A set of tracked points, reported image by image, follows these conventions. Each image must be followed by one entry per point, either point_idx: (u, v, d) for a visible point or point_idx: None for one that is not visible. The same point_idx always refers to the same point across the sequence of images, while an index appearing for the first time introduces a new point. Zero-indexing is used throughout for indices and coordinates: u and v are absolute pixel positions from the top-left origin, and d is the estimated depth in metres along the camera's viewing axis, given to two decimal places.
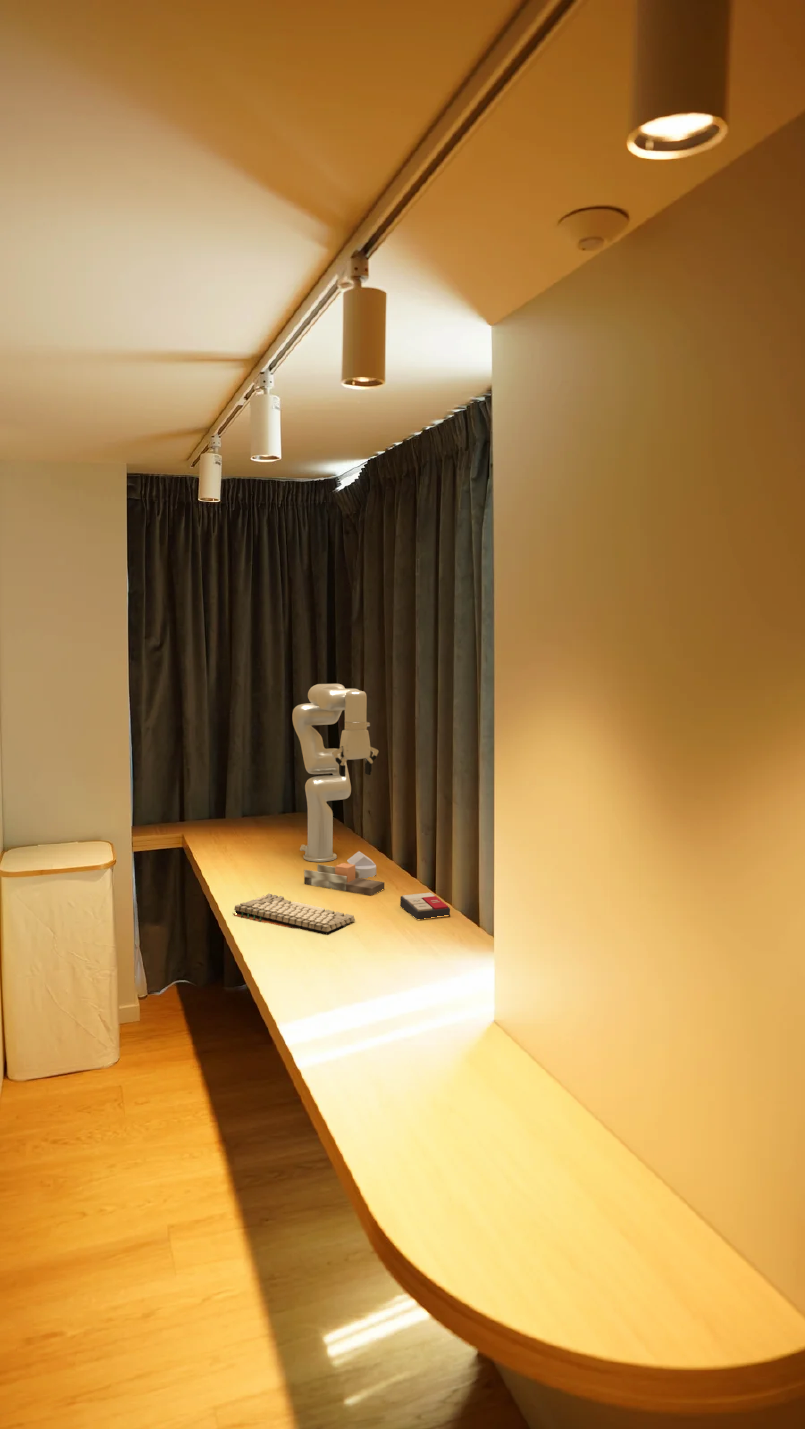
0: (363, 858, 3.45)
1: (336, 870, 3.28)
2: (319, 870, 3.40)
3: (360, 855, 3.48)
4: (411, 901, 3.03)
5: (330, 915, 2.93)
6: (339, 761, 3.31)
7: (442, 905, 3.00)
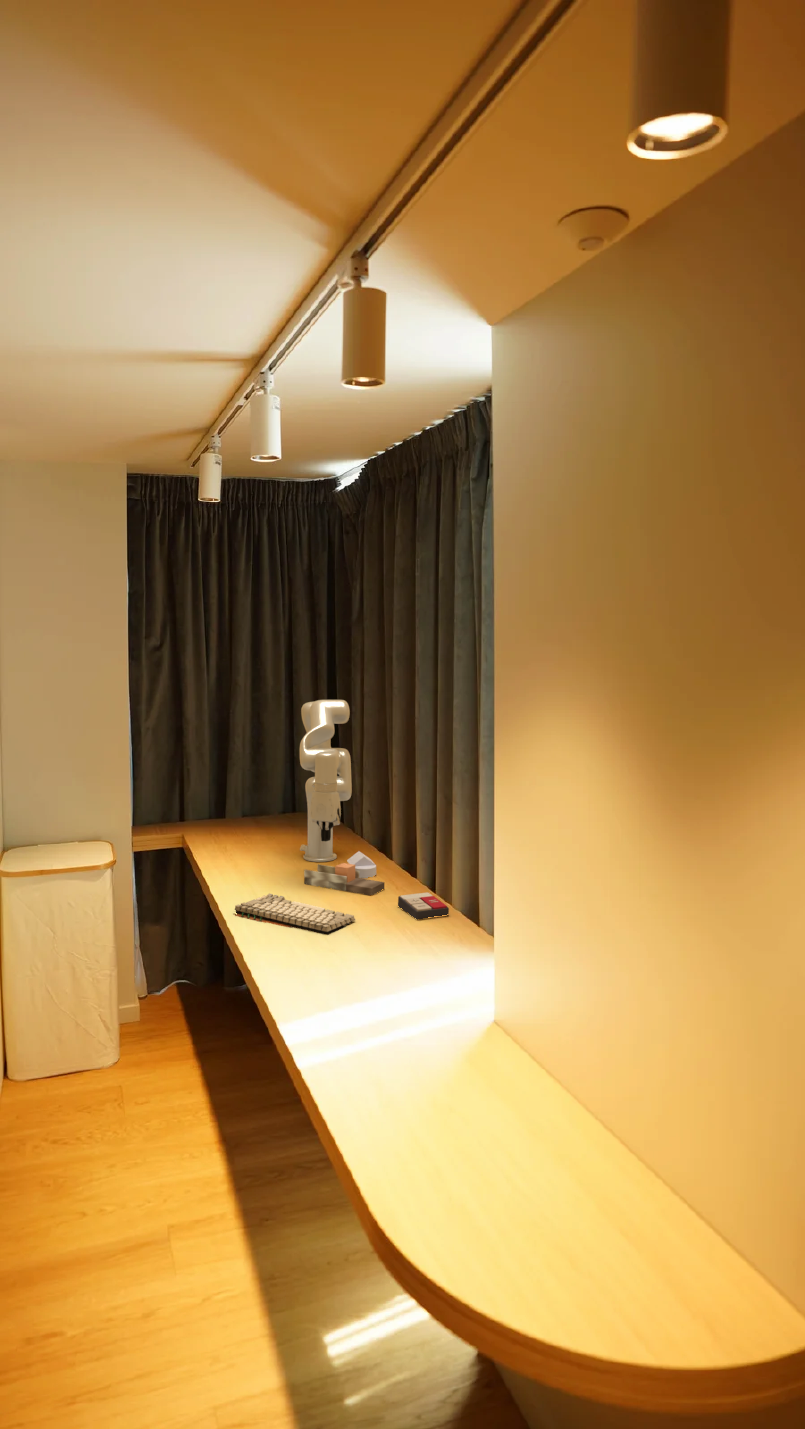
0: (363, 858, 3.45)
1: (336, 870, 3.28)
2: (319, 870, 3.40)
3: (360, 855, 3.48)
4: (409, 901, 3.03)
5: (330, 915, 2.93)
6: None
7: (441, 905, 3.00)
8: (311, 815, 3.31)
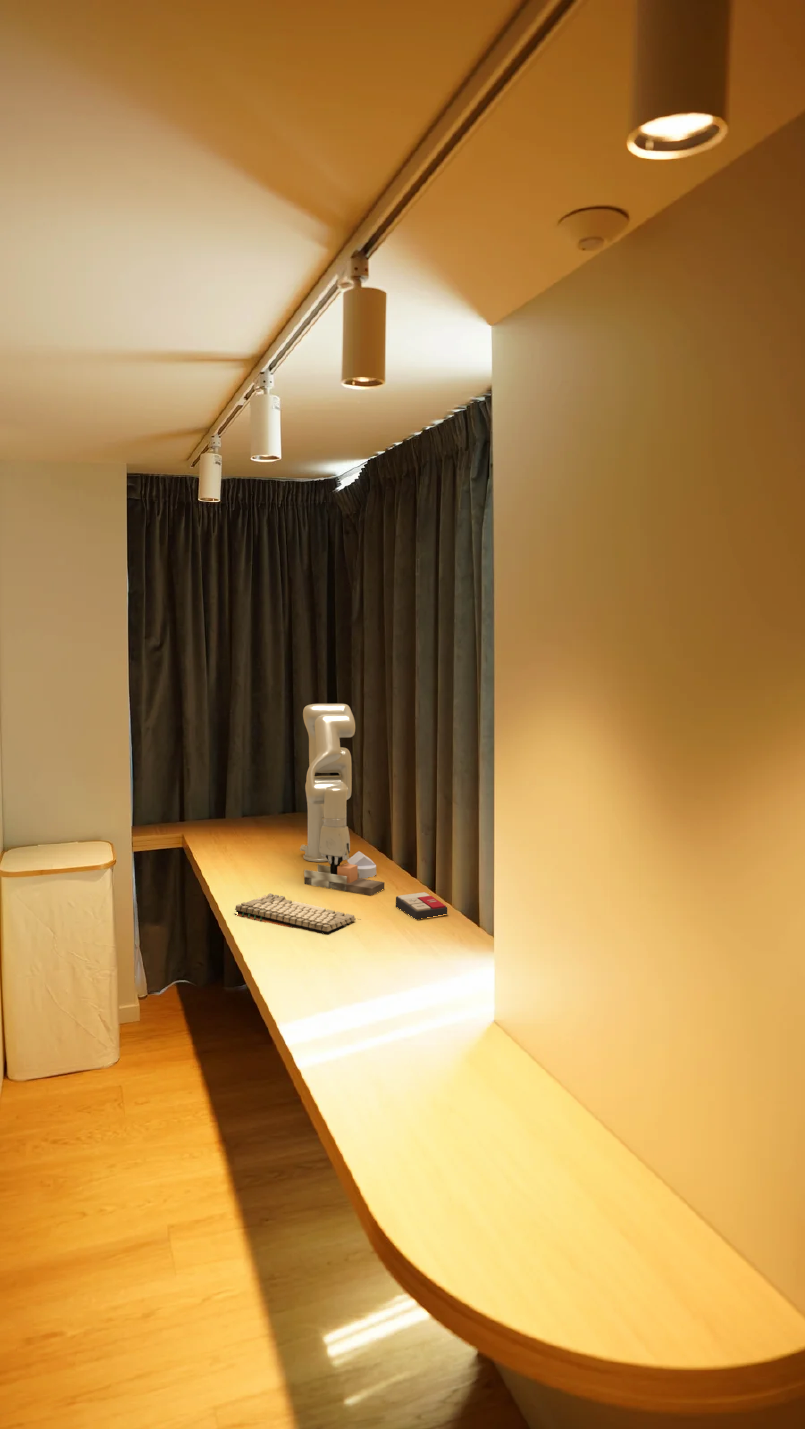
0: (363, 858, 3.45)
1: (338, 870, 3.28)
2: (319, 870, 3.40)
3: (360, 855, 3.48)
4: (408, 901, 3.02)
5: (331, 915, 2.93)
6: None
7: (439, 904, 3.00)
8: (320, 849, 3.31)
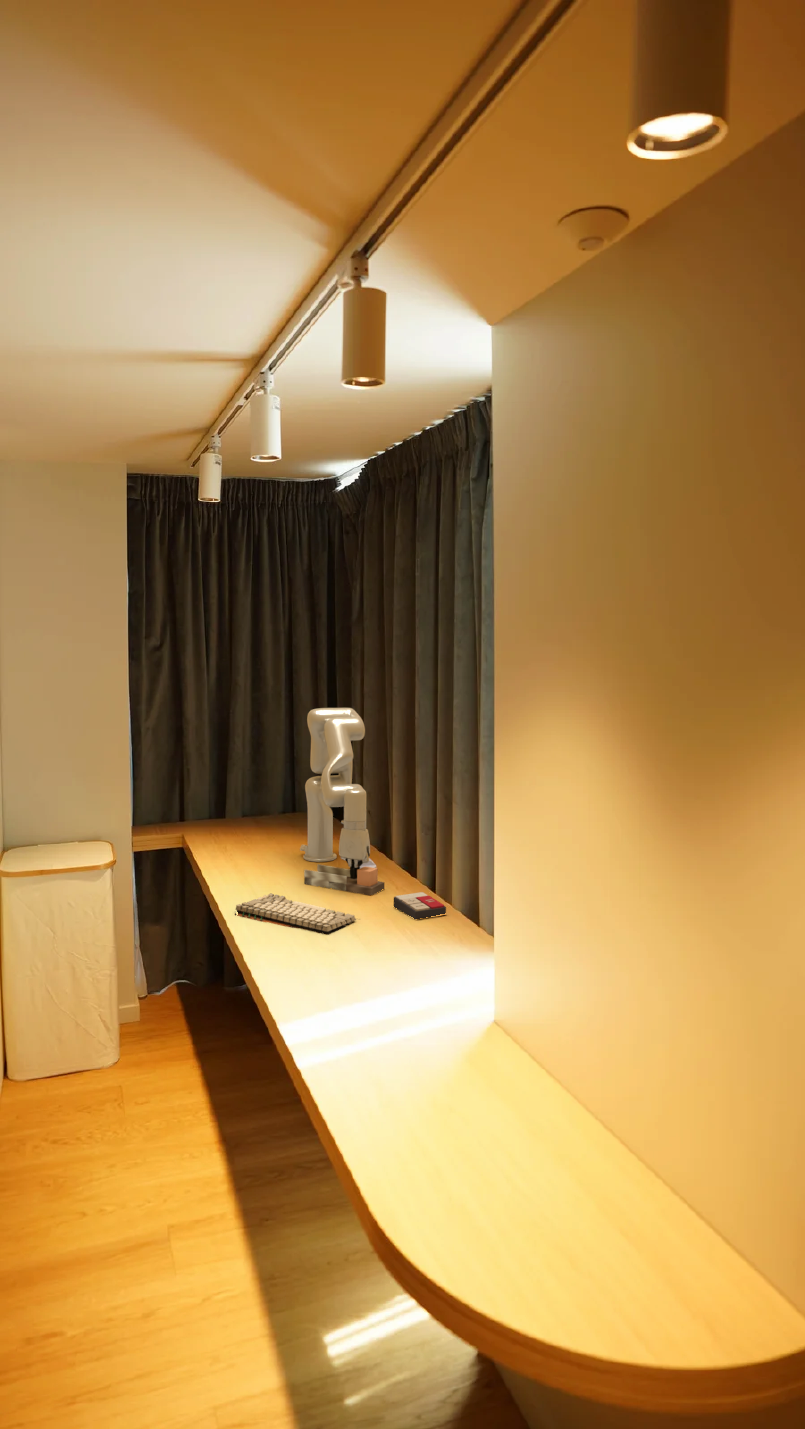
0: None
1: (358, 874, 3.24)
2: (319, 870, 3.40)
3: None
4: (406, 901, 3.02)
5: (331, 915, 2.93)
6: None
7: (438, 904, 3.01)
8: (340, 852, 3.27)
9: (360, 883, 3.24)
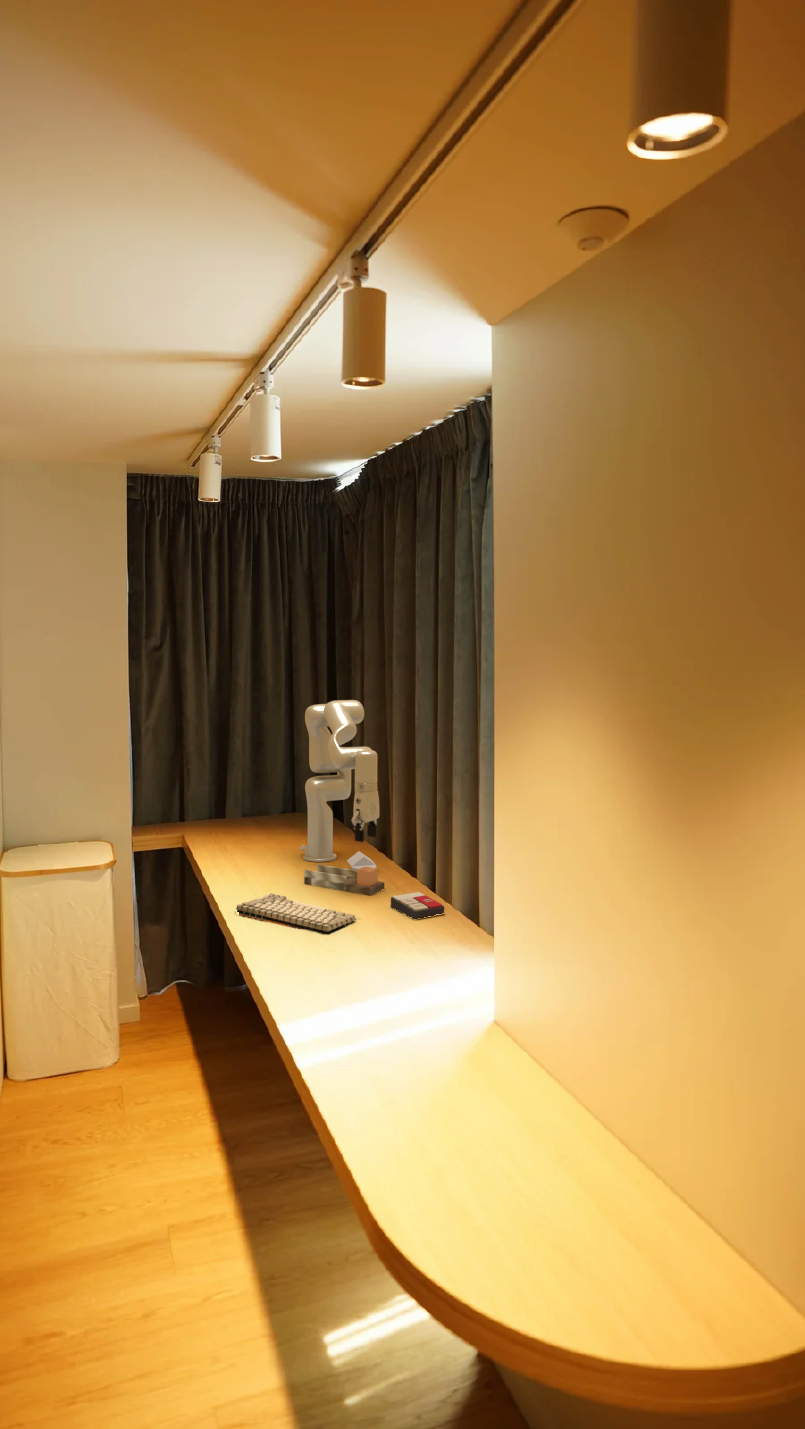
0: (363, 858, 3.45)
1: (358, 874, 3.24)
2: (319, 870, 3.40)
3: (360, 855, 3.48)
4: (404, 901, 3.02)
5: (331, 915, 2.93)
6: None
7: (436, 904, 3.01)
8: (366, 818, 3.19)
9: (360, 883, 3.24)
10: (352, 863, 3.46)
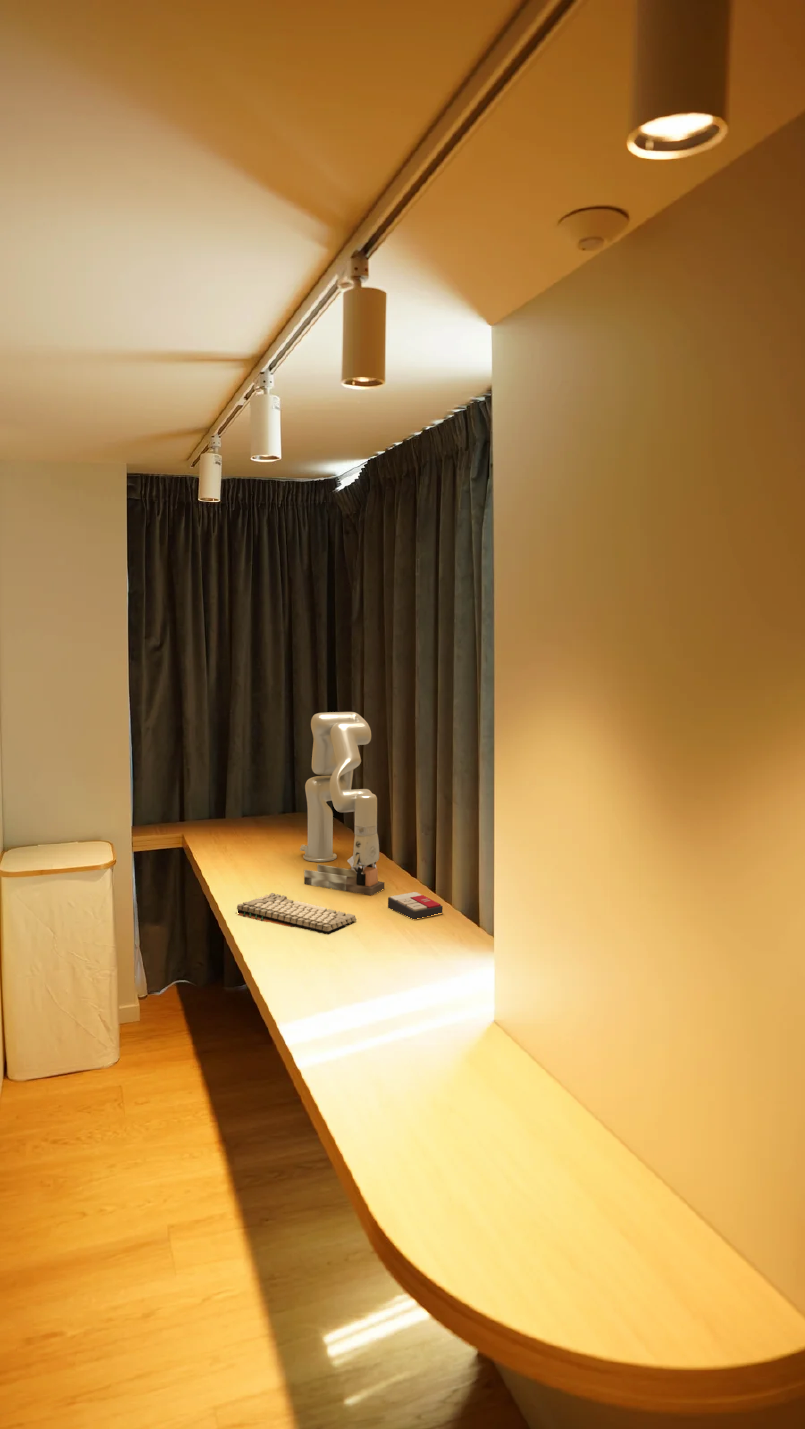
0: None
1: None
2: (319, 870, 3.40)
3: None
4: (402, 901, 3.02)
5: (332, 915, 2.93)
6: None
7: (434, 903, 3.01)
8: (365, 861, 3.20)
9: None
10: (352, 863, 3.46)
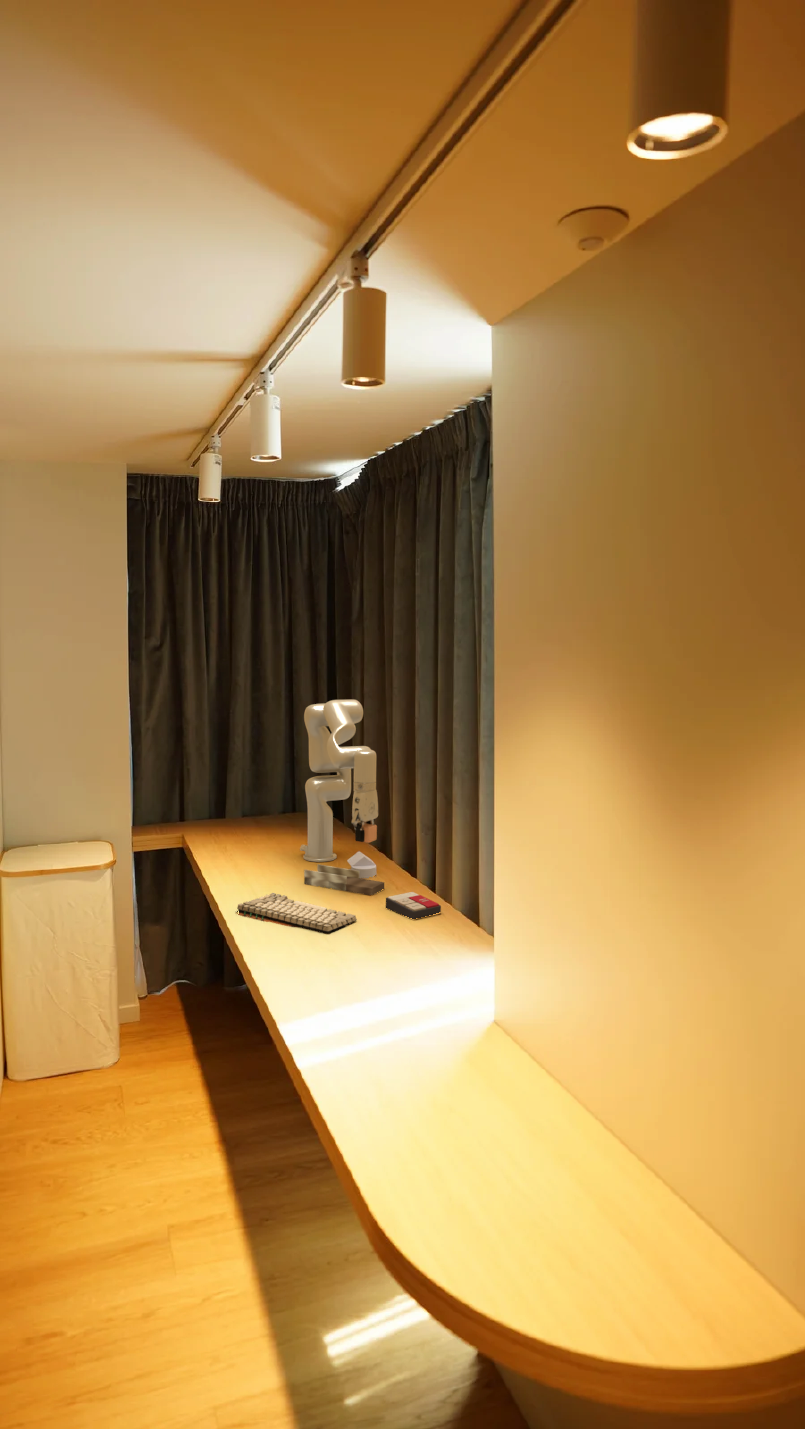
0: (363, 858, 3.45)
1: None
2: (319, 870, 3.40)
3: (360, 855, 3.48)
4: (401, 902, 3.02)
5: (332, 915, 2.94)
6: None
7: (433, 903, 3.02)
8: (364, 817, 3.20)
9: None
10: (352, 863, 3.46)
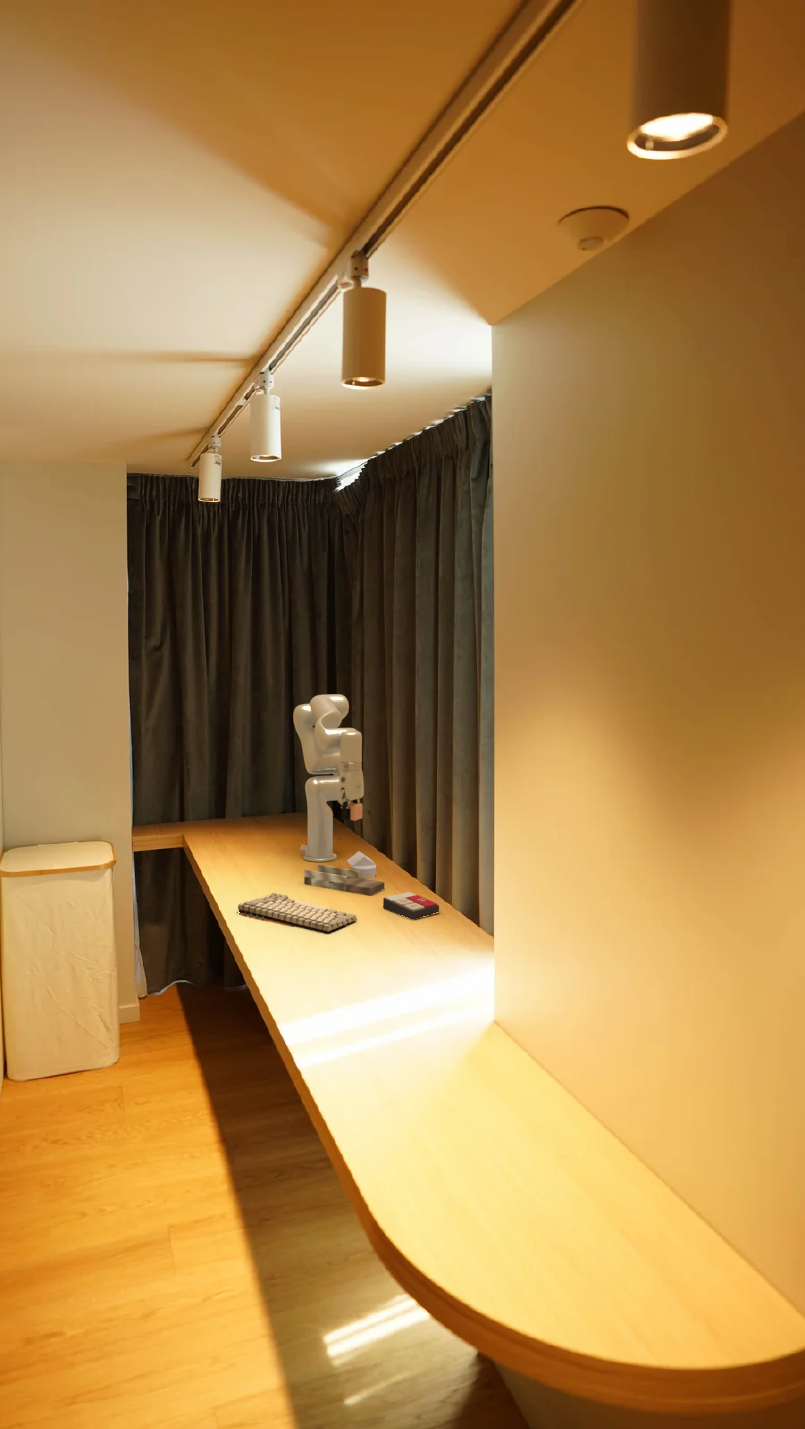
0: (363, 858, 3.45)
1: None
2: (319, 870, 3.40)
3: (360, 855, 3.48)
4: (399, 902, 3.02)
5: (332, 914, 2.94)
6: None
7: (431, 903, 3.02)
8: (350, 796, 3.31)
9: None
10: (352, 863, 3.46)
